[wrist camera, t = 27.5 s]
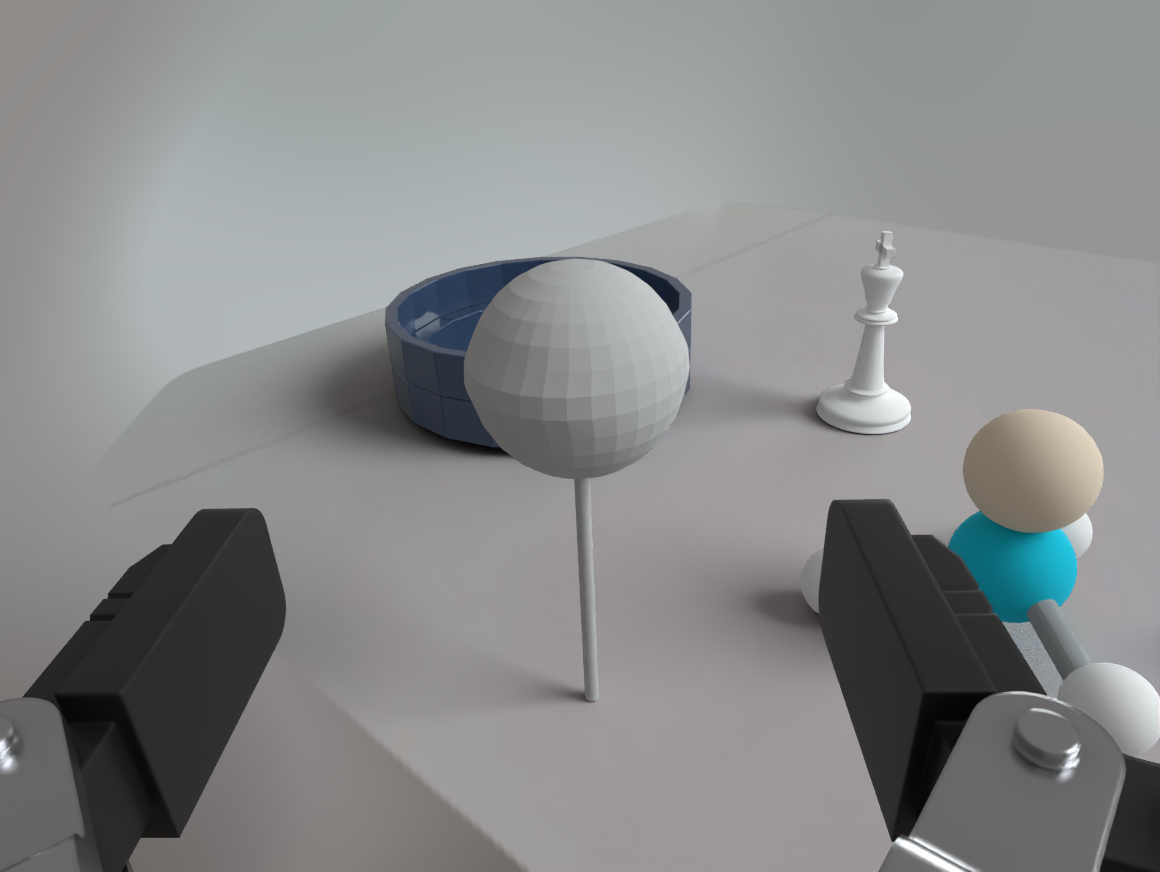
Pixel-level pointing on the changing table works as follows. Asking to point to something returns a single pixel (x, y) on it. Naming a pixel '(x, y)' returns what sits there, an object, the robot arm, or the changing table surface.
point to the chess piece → (870, 359)
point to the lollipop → (577, 385)
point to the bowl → (445, 327)
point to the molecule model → (1041, 557)
